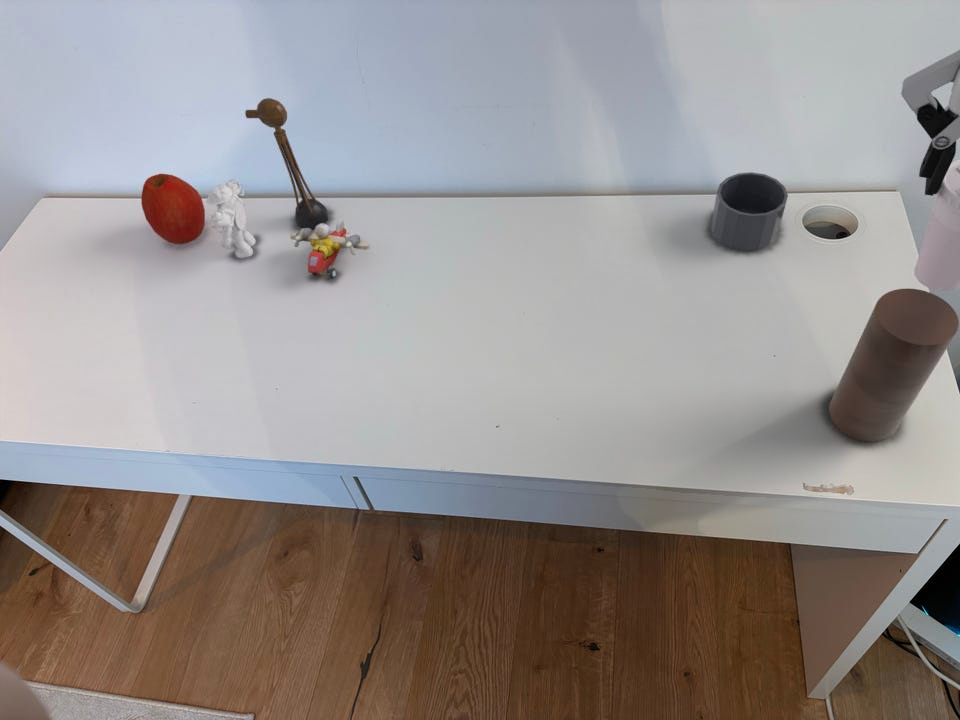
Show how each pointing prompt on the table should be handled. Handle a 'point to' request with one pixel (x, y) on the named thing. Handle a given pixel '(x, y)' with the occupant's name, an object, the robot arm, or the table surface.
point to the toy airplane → (327, 246)
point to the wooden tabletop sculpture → (290, 163)
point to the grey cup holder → (748, 211)
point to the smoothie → (942, 237)
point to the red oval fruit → (173, 208)
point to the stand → (892, 363)
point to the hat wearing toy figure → (231, 217)
